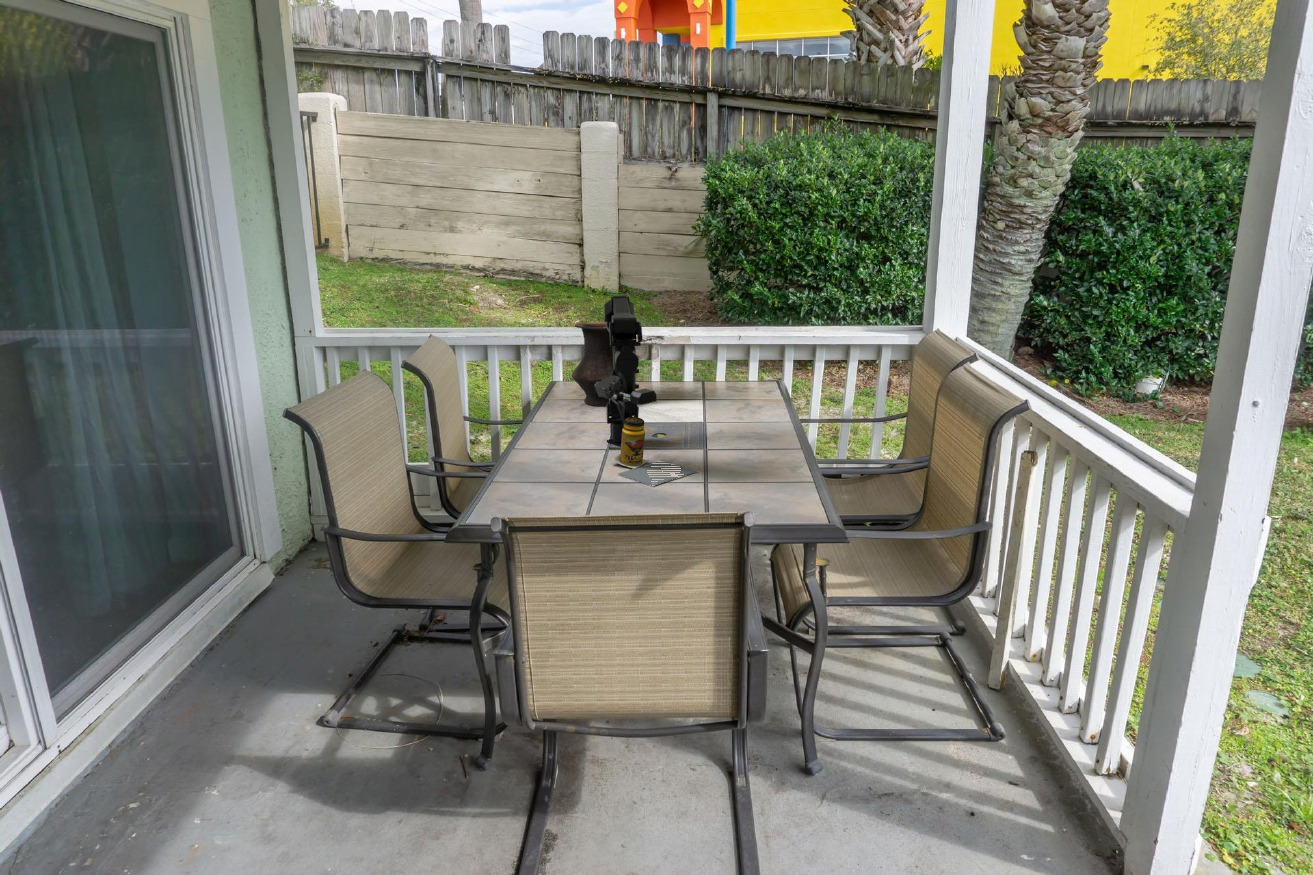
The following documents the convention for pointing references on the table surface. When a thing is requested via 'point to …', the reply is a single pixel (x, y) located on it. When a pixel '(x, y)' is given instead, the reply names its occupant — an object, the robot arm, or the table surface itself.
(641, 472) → the mat
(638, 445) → the condiment
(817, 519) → the table surface
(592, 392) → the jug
